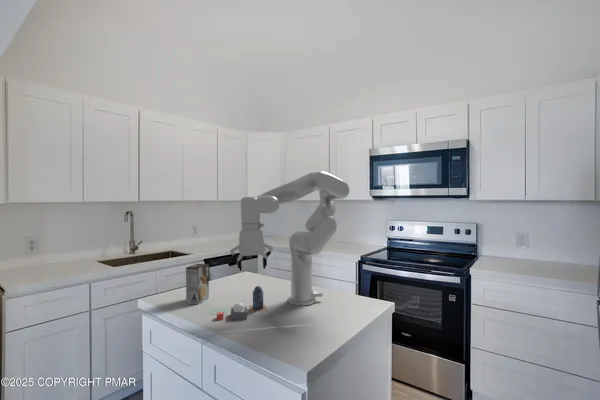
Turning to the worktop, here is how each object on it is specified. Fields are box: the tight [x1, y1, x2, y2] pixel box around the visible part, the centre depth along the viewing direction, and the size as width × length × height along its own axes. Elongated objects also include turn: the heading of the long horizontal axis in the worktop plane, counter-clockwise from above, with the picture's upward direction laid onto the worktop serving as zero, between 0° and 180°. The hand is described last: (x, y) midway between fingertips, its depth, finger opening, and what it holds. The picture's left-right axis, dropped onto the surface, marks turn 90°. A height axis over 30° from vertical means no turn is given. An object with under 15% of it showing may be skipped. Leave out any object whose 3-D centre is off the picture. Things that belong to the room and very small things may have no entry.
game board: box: [208, 304, 268, 321], centre depth 122 cm, size 23×14×3 cm, turn 102°
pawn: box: [252, 285, 264, 310], centre depth 127 cm, size 4×4×9 cm
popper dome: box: [232, 301, 245, 313], centre depth 118 cm, size 4×4×5 cm
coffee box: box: [185, 263, 210, 305], centre depth 138 cm, size 9×6×16 cm
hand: (252, 268), depth 124 cm, fingers open, 9 cm apart
